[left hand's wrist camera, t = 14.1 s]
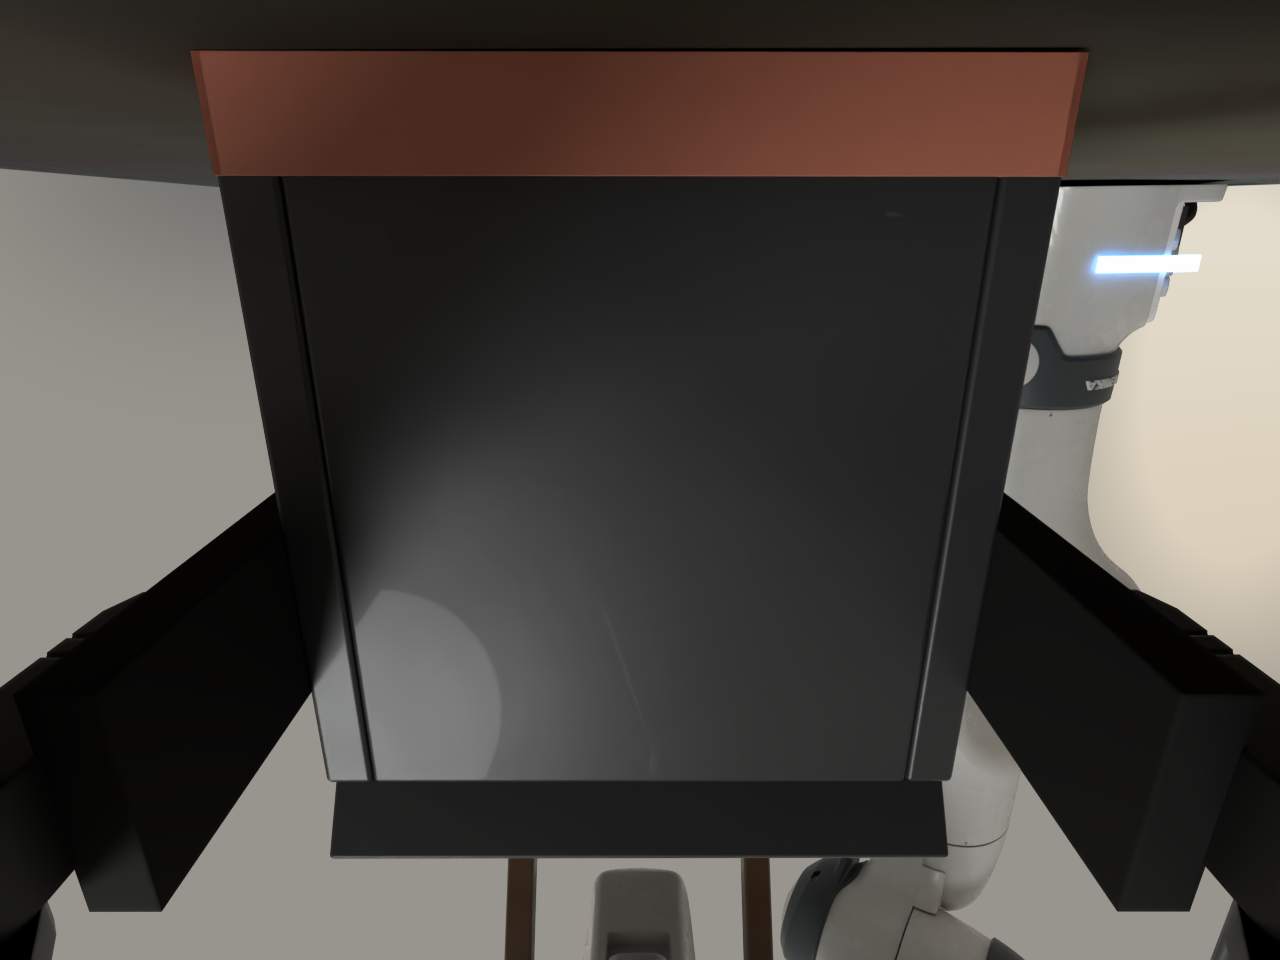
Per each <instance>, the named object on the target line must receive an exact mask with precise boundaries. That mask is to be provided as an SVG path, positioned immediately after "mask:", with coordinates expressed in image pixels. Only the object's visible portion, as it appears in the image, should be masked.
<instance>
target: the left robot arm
mask: <svg viewBox="0 0 1280 960" xmlns="http://www.w3.org/2000/svg"><path fill="white" fill-rule="evenodd" d="M72 635H73V636H72V638H66V639H65V640H63V641H62V642H61V643H59V644H58V645H57V646H55V647H54V648H53V649H51V650H50V651H49V652H47V657H46V658H39V659H38V660H37V661H35V662H34V663H33V664H31V665H30V666H29V667H27V668H26V669H24V670H23V671H22V672H20V673H19V674H18V675H16V676H15V677H14V678H12V679H11V680H10V681H8V682H7V683H6V684H4V685H3V686H2V687H0V960H52V955H53V949H54V944H55V938H56V930H55V923H54V918H53V915H52V912H51V910H50V907H49V904H48V902H47V901H48V900H49V899H50V897H51V896H52V895H53V894H54V893H55V892H56V890H57V889H58V888H59V887H60V886H61V885H62V883H63V882H64V881H65V880H66V879H67V878H68V876H69V875H70V874H71V873H72V872H73V871H74V869H75V872H76V875H77V878H78V880H79V883H80V886H81V889H82V892H83V895H84V898H85V900H86V903H87V906H88V909H89V911H90V912H161V911H162V910H163V909H164V907H165V906H166V904H167V903H168V901H169V900H170V898H171V897H172V896H173V894H174V893H175V891H176V890H177V888H178V887H179V885H180V884H181V882H182V881H183V879H184V878H185V877H186V875H187V874H188V872H189V871H190V869H191V868H192V866H193V865H194V863H195V862H196V860H197V859H198V857H199V856H200V855H201V853H202V852H203V850H204V849H205V847H206V846H207V844H208V843H209V841H210V840H211V838H212V837H213V835H214V834H215V833H216V831H217V830H218V828H219V827H220V825H221V824H222V822H223V821H224V819H225V818H226V816H227V815H228V813H229V812H230V811H231V809H232V808H233V806H234V805H235V803H236V802H237V800H238V799H239V797H240V796H241V794H242V793H243V791H244V790H245V789H246V787H247V786H248V784H249V783H250V781H251V780H252V778H253V777H254V775H255V774H256V772H257V771H258V770H259V768H260V766H261V765H262V764H263V762H264V761H265V759H266V758H267V756H268V755H269V753H270V752H271V750H272V749H273V748H274V746H275V745H276V743H277V742H278V740H279V739H280V737H281V736H282V734H283V733H284V731H285V730H286V728H287V727H288V725H289V724H290V723H291V721H292V720H293V718H294V717H295V715H296V714H297V712H298V711H299V709H300V708H301V706H302V705H303V704H304V702H305V701H306V699H307V698H308V696H309V695H310V693H311V686H310V681H309V675H308V670H307V664H306V659H305V653H304V648H303V642H302V637H301V631H300V626H299V620H298V615H297V609H296V604H295V598H294V593H293V587H292V582H291V576H290V571H289V565H288V560H287V554H286V549H285V543H284V538H283V532H282V527H281V521H280V516H279V510H278V505H277V499H276V494H275V493H273V494H272V495H271V496H269V497H268V498H267V499H266V500H264V501H263V502H262V503H260V504H259V505H258V506H257V507H255V508H254V509H253V510H251V511H250V512H249V513H247V514H246V515H245V516H244V517H242V518H241V519H240V520H238V521H237V522H236V523H235V524H233V525H232V526H231V527H229V528H228V529H227V530H225V531H224V532H223V533H222V534H220V535H219V536H218V537H216V538H215V539H214V540H212V541H211V542H210V543H209V544H207V545H206V546H205V547H203V548H202V549H201V550H200V551H198V552H197V553H196V554H194V555H193V556H192V557H190V558H189V559H188V560H187V561H185V562H184V563H183V564H181V565H180V566H179V567H177V568H176V569H175V570H174V571H172V572H171V573H170V574H168V575H167V576H166V577H164V578H163V579H162V580H161V581H159V582H158V583H157V584H155V585H154V586H153V587H151V588H150V589H149V590H148V591H146V592H142V593H140V594H138V595H136V596H134V597H132V598H130V599H128V600H126V601H123V602H121V603H119V604H117V605H115V606H113V607H111V608H109V609H107V610H104V611H102V612H101V613H100V614H98V615H97V616H96V617H94V618H93V619H92V620H90V621H89V622H88V623H86V624H85V625H84V626H82V627H81V628H80V629H78V630H77V631H75V632H74V633H73V634H72ZM967 692H968V693H969V694H970V696H971V697H972V699H973V700H974V702H975V703H976V705H977V706H978V708H979V709H980V711H981V712H982V714H983V715H984V716H985V718H986V719H987V721H988V722H989V724H990V725H991V727H992V728H993V730H994V731H995V733H996V734H997V736H998V737H999V738H1000V740H1001V741H1002V743H1003V744H1004V746H1005V747H1006V749H1007V750H1008V752H1009V753H1010V755H1011V756H1012V758H1013V759H1014V761H1015V762H1016V763H1017V765H1018V766H1019V768H1020V769H1021V771H1022V772H1023V774H1024V775H1025V777H1026V778H1027V780H1028V781H1029V782H1030V784H1031V785H1032V787H1033V788H1034V790H1035V791H1036V793H1037V794H1038V796H1039V797H1040V799H1041V800H1042V801H1043V803H1044V804H1045V806H1046V807H1047V809H1048V810H1049V812H1050V813H1051V815H1052V816H1053V818H1054V819H1055V821H1056V822H1057V824H1058V825H1059V827H1060V828H1061V829H1062V831H1063V832H1064V834H1065V835H1066V837H1067V838H1068V840H1069V841H1070V843H1071V844H1072V846H1073V847H1074V848H1075V850H1076V851H1077V853H1078V854H1079V856H1080V857H1081V859H1082V860H1083V862H1084V863H1085V865H1086V866H1087V868H1088V869H1089V871H1090V872H1091V873H1092V875H1093V876H1094V878H1095V879H1096V881H1097V882H1098V884H1099V885H1100V887H1101V888H1102V890H1103V891H1104V892H1105V894H1106V895H1107V897H1108V898H1109V900H1110V901H1111V903H1112V904H1113V906H1114V907H1115V909H1116V910H1117V911H1190V909H1191V906H1192V903H1193V900H1194V897H1195V894H1196V891H1197V889H1198V886H1199V883H1200V880H1201V877H1202V875H1203V872H1204V869H1205V866H1206V867H1207V869H1208V870H1209V871H1210V872H1211V873H1212V874H1213V875H1214V877H1215V878H1216V879H1217V880H1218V881H1219V882H1220V884H1221V885H1222V886H1223V887H1224V888H1225V889H1226V891H1227V892H1228V893H1229V894H1230V895H1231V896H1232V898H1233V902H1232V904H1231V907H1230V910H1229V912H1228V915H1227V918H1226V920H1225V923H1224V925H1223V928H1222V931H1221V934H1220V936H1219V939H1218V941H1217V944H1216V947H1215V949H1214V952H1213V955H1212V957H1211V960H1280V684H1279V683H1277V682H1276V681H1275V680H1273V679H1272V678H1271V677H1269V676H1268V675H1266V674H1265V673H1264V672H1262V671H1261V670H1260V669H1258V668H1257V667H1256V666H1254V665H1253V664H1252V663H1250V662H1249V661H1248V660H1246V659H1245V658H1243V657H1242V656H1241V655H1234V654H1233V649H1231V648H1230V647H1229V646H1227V645H1226V644H1225V643H1223V642H1222V641H1221V640H1219V639H1218V638H1216V637H1215V636H1214V635H1208V634H1207V630H1206V629H1204V628H1203V627H1202V626H1200V625H1199V624H1198V623H1196V622H1195V621H1193V620H1192V619H1191V618H1189V617H1188V616H1187V615H1185V614H1184V613H1183V612H1181V611H1180V610H1179V609H1177V608H1175V607H1173V606H1171V605H1169V604H1167V603H1164V602H1162V601H1160V600H1158V599H1156V598H1154V597H1152V596H1150V595H1147V594H1145V593H1143V592H1141V591H1139V590H1137V589H1129V588H1128V587H1126V586H1125V585H1124V584H1122V583H1121V582H1120V581H1119V580H1117V579H1116V578H1115V577H1113V576H1112V575H1111V574H1109V573H1108V572H1107V571H1106V570H1104V569H1103V568H1102V567H1100V566H1099V565H1098V564H1096V563H1095V562H1094V561H1093V560H1091V559H1090V558H1089V557H1087V556H1086V555H1085V554H1084V553H1082V552H1081V551H1080V550H1078V549H1077V548H1076V547H1074V546H1073V545H1072V544H1071V543H1069V542H1068V541H1067V540H1065V539H1064V538H1063V537H1061V536H1060V535H1059V534H1058V533H1056V532H1055V531H1054V530H1052V529H1051V528H1050V527H1049V526H1047V525H1046V524H1045V523H1043V522H1042V521H1041V520H1039V519H1038V518H1037V517H1036V516H1034V515H1033V514H1032V513H1030V512H1029V511H1028V510H1026V509H1025V508H1024V507H1023V506H1021V505H1020V504H1019V503H1017V502H1016V501H1015V500H1014V499H1012V498H1011V497H1010V496H1008V495H1007V494H1006V493H1004V494H1003V499H1002V505H1001V510H1000V515H999V521H998V526H997V532H996V537H995V543H994V548H993V554H992V559H991V564H990V570H989V575H988V581H987V586H986V592H985V597H984V603H983V608H982V613H981V619H980V624H979V630H978V635H977V641H976V646H975V652H974V657H973V662H972V668H971V673H970V679H969V684H968V690H967Z"/></svg>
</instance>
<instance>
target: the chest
mask: <svg viewBox="0 0 1280 960" xmlns="http://www.w3.org/2000/svg"><path fill="white" fill-rule="evenodd" d="M1088 56H1089V52H845V51H273V50H191V57H192V63H193V68H194V73H195V79H196V84H197V90H198V95H199V101H200V106H201V112H202V117H203V122H204V128H205V133H206V139H207V144H208V150H209V155H210V161H211V166H212V171H213V175H214V176H218V181H219V186H220V192H221V197H222V202H223V208H224V214H225V219H226V225H227V230H228V235H229V241H230V246H231V252H232V257H233V263H234V268H235V274H236V279H237V285H238V290H239V296H240V301H241V307H242V312H243V318H244V323H245V329H246V334H247V340H248V345H249V351H250V356H251V362H252V367H253V373H254V378H255V384H256V389H257V395H258V400H259V406H260V411H261V417H262V422H263V428H264V433H265V439H266V444H267V450H268V455H269V461H270V466H271V471H272V477H273V483H274V488H275V494H276V499H277V505H278V510H279V516H280V521H281V527H282V532H283V538H284V543H285V549H286V554H287V560H288V565H289V571H290V576H291V582H292V587H293V593H294V598H295V604H296V609H297V615H298V620H299V626H300V631H301V637H302V642H303V648H304V653H305V659H306V664H307V670H308V675H309V681H310V686H311V692H312V697H313V703H314V708H315V714H316V719H317V725H318V730H319V735H320V741H321V747H322V752H323V757H324V763H325V768H326V774H327V779H328V780H329V781H331V782H368V781H371V780H372V779H373V778H374V779H375V780H376V781H378V782H660V781H902V780H903V779H904V777H906V779H907V780H909V781H948V780H950V779H951V777H952V771H953V766H954V760H955V755H956V750H957V744H958V739H959V733H960V728H961V722H962V717H963V711H964V706H965V701H966V695H967V690H968V684H969V679H970V673H971V668H972V662H973V657H974V652H975V646H976V641H977V635H978V630H979V624H980V619H981V613H982V608H983V603H984V597H985V592H986V586H987V581H988V575H989V570H990V564H991V559H992V554H993V548H994V543H995V537H996V532H997V526H998V521H999V515H1000V510H1001V505H1002V499H1003V494H1004V488H1005V483H1006V477H1007V472H1008V466H1009V461H1010V456H1011V450H1012V445H1013V439H1014V434H1015V428H1016V423H1017V417H1018V412H1019V407H1020V401H1021V396H1022V390H1023V385H1024V379H1025V374H1026V368H1027V363H1028V358H1029V352H1030V347H1031V341H1032V336H1033V330H1034V325H1035V319H1036V314H1037V309H1038V303H1039V298H1040V292H1041V287H1042V281H1043V276H1044V270H1045V265H1046V260H1047V254H1048V249H1049V243H1050V238H1051V232H1052V227H1053V221H1054V216H1055V211H1056V205H1057V200H1058V194H1059V189H1060V183H1061V178H1062V177H1065V176H1066V174H1067V169H1068V163H1069V158H1070V153H1071V147H1072V142H1073V136H1074V131H1075V126H1076V120H1077V115H1078V110H1079V104H1080V99H1081V93H1082V88H1083V83H1084V77H1085V72H1086V66H1087V61H1088Z"/></svg>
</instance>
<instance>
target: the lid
mask: <svg viewBox="0 0 1280 960" xmlns="http://www.w3.org/2000/svg"><path fill="white" fill-rule="evenodd" d="M330 856H331V858H336V859H337V858H339V859H341V858H508V879H507V906H506V933H505V960H534V946H535V911H536V877H537V858H741V881H742V916H743V950H744V960H773V940H772V914H771V887H770V861H769V858H945V857H947V856H948V843H947V832H946V821H945V810H944V798H943V787H942V781H909V780H907V779H906V777H904V779H903V780H902V781H660V782H378V781H376V780H375V779H374V778H373V779H372V780H371V781H368V782H337V783H336V794H335V805H334V817H333V828H332V840H331V851H330Z"/></svg>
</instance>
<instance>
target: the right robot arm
mask: <svg viewBox="0 0 1280 960" xmlns="http://www.w3.org/2000/svg"><path fill="white" fill-rule="evenodd" d="M1227 186H1228V184H1216V185H1139V186H1074V187H1060V189H1059V194H1058V200H1057V205H1056V211H1055V216H1054V221H1053V227H1052V232H1051V238H1050V243H1049V249H1048V254H1047V260H1046V265H1045V270H1044V276H1043V281H1042V287H1041V292H1040V298H1039V303H1038V309H1037V314H1036V319H1035V325H1034V330H1033V336H1032V341H1031V347H1030V352H1029V358H1028V363H1027V368H1026V374H1025V379H1024V385H1023V390H1022V396H1021V401H1020V407H1019V412H1018V417H1017V423H1016V428H1015V434H1014V439H1013V445H1012V450H1011V456H1010V461H1009V466H1008V472H1007V477H1006V483H1005V488H1004V493H1006V494H1007V495H1008V496H1010V497H1011V498H1012V499H1014V500H1015V501H1016V502H1017V503H1019V504H1020V505H1021V506H1023V507H1024V508H1025V509H1026V510H1028V511H1029V512H1030V513H1032V514H1033V515H1034V516H1036V517H1037V518H1038V519H1039V520H1041V521H1042V522H1043V523H1045V524H1046V525H1047V526H1049V527H1050V528H1051V529H1052V530H1054V531H1055V532H1056V533H1058V534H1059V535H1060V536H1061V537H1063V538H1064V539H1065V540H1067V541H1068V542H1069V543H1071V544H1072V545H1073V546H1074V547H1076V548H1077V549H1078V550H1080V551H1081V552H1082V553H1084V554H1085V555H1086V556H1087V557H1089V558H1090V559H1091V560H1093V561H1094V562H1095V563H1096V564H1098V565H1099V566H1100V567H1102V568H1103V569H1104V570H1106V571H1107V572H1108V573H1109V574H1111V575H1112V576H1113V577H1115V578H1116V579H1117V580H1119V581H1120V582H1121V583H1122V584H1124V585H1125V586H1126V587H1128V588H1129V589H1137V590H1139V591H1140V589H1139V588H1138V586H1137V585H1136V583H1135V582H1134V581H1133V580H1132V579H1131V577H1130V576H1129V575H1128V574H1127V573H1126V572H1124V571H1123V570H1122V569H1121V568H1119V567H1118V566H1117V565H1116V564H1115V563H1113V562H1112V561H1111V560H1110V559H1109V558H1108V557H1107V555H1106V554H1105V553H1104V552H1103V550H1102V549H1101V547H1100V546H1099V544H1098V542H1097V540H1096V538H1095V536H1094V533H1093V530H1092V527H1091V523H1090V519H1089V514H1088V504H1087V493H1088V482H1089V475H1090V468H1091V461H1092V455H1093V449H1094V443H1095V438H1096V432H1097V427H1098V422H1099V417H1100V412H1101V408H1102V404H1103V403H1105V402H1107V401H1108V400H1109V399H1110V398H1111V394H1112V391H1113V387H1114V384H1115V383H1116V382H1117V379H1118V375H1119V370H1118V367H1119V363H1120V359H1121V355H1122V350H1121V349H1120V347H1119V345H1120V344H1121V342H1122V341H1123V340H1124V339H1125V338H1126V337H1127V336H1128V335H1129V334H1131V333H1132V332H1134V331H1135V330H1137V329H1139V328H1141V327H1143V326H1144V325H1145V324H1146V323H1148V322H1151V321H1152V320H1153V319H1154V317H1155V314H1156V311H1157V307H1158V303H1159V299H1160V296H1165V295H1166V293H1167V290H1168V286H1169V280H1170V277H1169V276H1171V275H1172V274H1173V272H1196V271H1198V267H1199V263H1200V259H1201V255H1178V251H1179V245H1180V241H1181V237H1182V233H1183V228H1184V225H1186V224H1187V223H1189V222H1190V221H1191V220H1192V219H1193V218H1194V217H1195V215H1196V212H1197V202H1216V201H1221V200H1222V199H1223V197H1224V194H1225V191H1226V189H1227ZM1184 202H1185V206H1184ZM1020 772H1021V769H1020V768H1019V766H1018V765H1017V763H1016V762H1015V761H1014V759H1013V758H1012V756H1011V755H1010V753H1009V752H1008V750H1007V749H1006V747H1005V746H1004V744H1003V743H1002V741H1001V740H1000V738H999V737H998V736H997V734H996V733H995V731H994V730H993V728H992V727H991V725H990V724H989V722H988V721H987V719H986V718H985V716H984V715H983V714H982V712H981V711H980V709H979V708H978V706H977V705H976V703H975V702H974V700H973V699H972V697H971V696H970V694H969V693H968V692H967V695H966V701H965V706H964V711H963V717H962V722H961V728H960V733H959V739H958V744H957V750H956V755H955V760H954V766H953V771H952V777H951V779H950V780H948V781H942V787H943V798H944V810H945V821H946V832H947V843H948V856H947V857H945V858H870V860H869V861H868V860H866V861H864V862H860V863H859V858H822V859H820V860H819V861H817V862H815V863H813V864H811V865H810V866H808V867H807V868H806V869H805V870H804V871H803V873H802V874H801V876H800V877H799V879H798V880H797V881H796V882H795V883H794V885H793V886H792V888H791V890H790V892H789V893H788V896H787V898H786V901H785V904H784V908H783V914H782V929H781V946H782V950H783V954H784V957H785V959H786V960H1024V959H1023V958H1022V957H1021V956H1019V955H1018V954H1017V953H1016V952H1015V951H1013V950H1012V949H1010V948H1009V947H1008V946H1006V945H1005V944H1004V943H1002V942H1001V941H999V940H998V939H996V938H993V939H992V940H990V939H989V938H987V937H986V936H984V935H983V934H981V933H980V932H978V931H977V930H975V929H974V928H972V927H970V926H969V925H967V924H966V923H964V922H962V921H961V920H959V919H957V918H956V917H954V916H952V915H950V914H949V913H947V912H945V911H953V910H958V909H962V908H964V907H966V906H968V905H970V904H971V903H972V902H973V901H975V900H976V898H977V897H978V896H979V895H980V893H981V892H982V890H983V888H984V887H985V885H986V883H987V882H988V880H989V878H990V876H991V874H992V872H993V870H994V867H995V865H996V862H997V860H998V857H999V855H1000V852H1001V850H1002V847H1003V844H1004V840H1005V837H1006V833H1007V829H1008V826H1009V821H1010V816H1011V812H1012V807H1013V803H1014V799H1015V795H1016V790H1017V786H1018V781H1019V777H1020ZM583 960H695V952H694V943H693V934H692V925H691V916H690V909H689V902H688V897H687V891H686V887H685V884H684V882H683V880H682V878H681V876H680V875H679V874H677V873H675V872H673V871H669V870H662V869H647V868H630V869H616V870H608V871H605V872H603V873H601V874H600V875H599V876H598V877H597V879H596V881H595V883H594V886H593V890H592V895H591V900H590V907H589V914H588V922H587V931H586V940H585V949H584V958H583Z"/></svg>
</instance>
